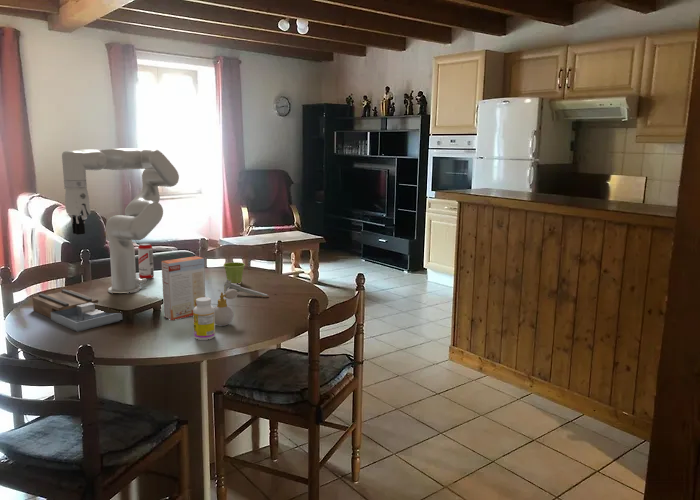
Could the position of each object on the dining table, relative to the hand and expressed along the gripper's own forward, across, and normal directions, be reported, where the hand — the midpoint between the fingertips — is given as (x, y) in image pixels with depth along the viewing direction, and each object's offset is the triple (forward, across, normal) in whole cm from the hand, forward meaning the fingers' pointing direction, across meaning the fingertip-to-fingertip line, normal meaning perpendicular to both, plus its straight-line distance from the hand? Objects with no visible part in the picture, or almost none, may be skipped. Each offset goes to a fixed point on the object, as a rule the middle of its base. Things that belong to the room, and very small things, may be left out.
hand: (78, 233), depth 210 cm
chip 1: (+24, -20, +10) cm, 33 cm away
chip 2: (+23, -26, +9) cm, 36 cm away
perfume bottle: (+27, -60, -19) cm, 69 cm away
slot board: (+27, -7, +10) cm, 30 cm away
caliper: (+28, -38, -49) cm, 68 cm away
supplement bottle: (+27, -66, -6) cm, 72 cm away
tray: (+27, -22, +10) cm, 36 cm away
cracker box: (+27, -42, -16) cm, 52 cm away
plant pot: (+28, -19, -59) cm, 68 cm away
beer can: (+27, +17, -38) cm, 50 cm away
